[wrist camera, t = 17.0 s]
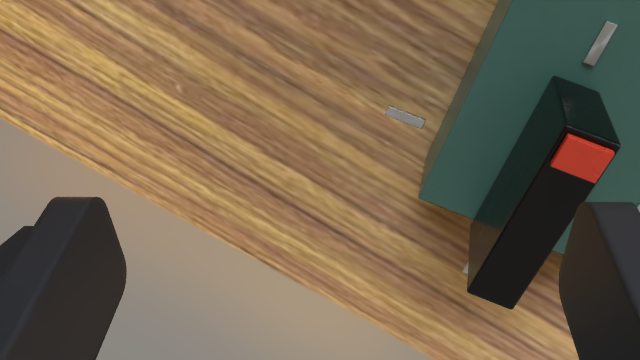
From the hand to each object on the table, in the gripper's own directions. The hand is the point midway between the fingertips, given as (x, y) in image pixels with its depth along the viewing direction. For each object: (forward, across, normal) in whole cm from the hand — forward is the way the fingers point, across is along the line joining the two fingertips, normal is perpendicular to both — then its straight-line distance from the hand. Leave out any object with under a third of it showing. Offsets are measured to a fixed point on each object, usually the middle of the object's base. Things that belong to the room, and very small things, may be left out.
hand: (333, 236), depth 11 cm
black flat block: (+10, -6, +6) cm, 13 cm away
